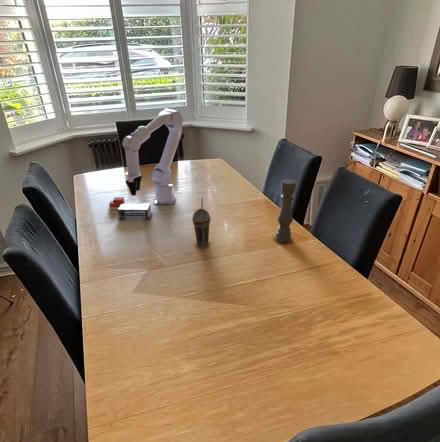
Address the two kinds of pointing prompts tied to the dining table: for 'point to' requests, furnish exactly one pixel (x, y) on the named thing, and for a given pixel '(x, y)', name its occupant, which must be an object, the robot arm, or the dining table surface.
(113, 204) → the stepped red block
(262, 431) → the dining table surface
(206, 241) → the beverage cup
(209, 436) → the dining table surface
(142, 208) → the brown flanged block
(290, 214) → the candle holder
